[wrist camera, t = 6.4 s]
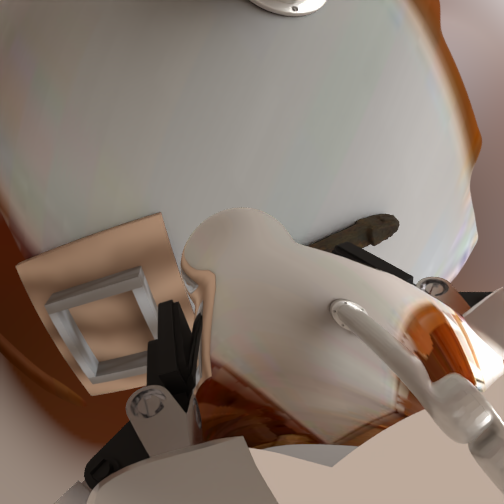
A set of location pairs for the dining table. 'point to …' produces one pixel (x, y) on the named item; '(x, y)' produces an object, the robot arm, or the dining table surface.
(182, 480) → the robot arm
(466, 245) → the dining table surface
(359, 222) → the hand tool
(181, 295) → the glass dock
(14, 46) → the dining table surface
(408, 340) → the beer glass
